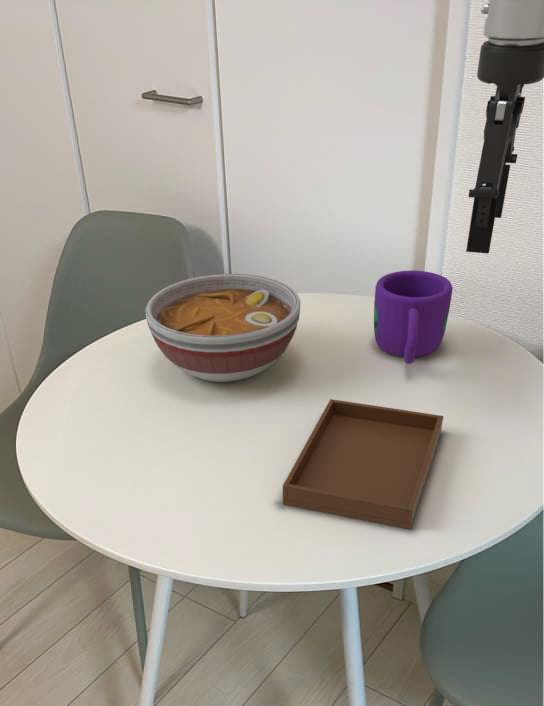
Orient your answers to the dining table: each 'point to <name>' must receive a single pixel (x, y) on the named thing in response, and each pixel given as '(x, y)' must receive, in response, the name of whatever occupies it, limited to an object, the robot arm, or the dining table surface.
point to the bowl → (224, 324)
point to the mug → (411, 313)
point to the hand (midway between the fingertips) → (484, 233)
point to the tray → (365, 463)
